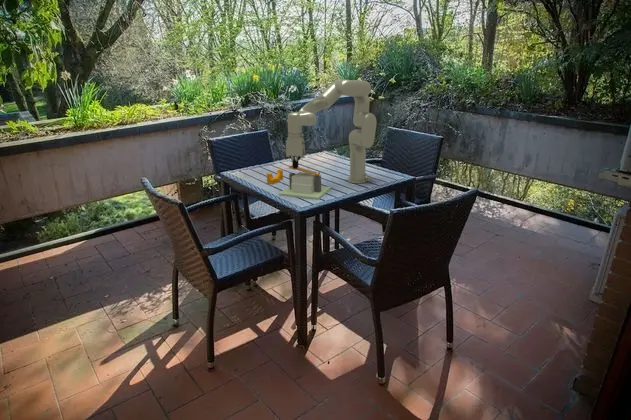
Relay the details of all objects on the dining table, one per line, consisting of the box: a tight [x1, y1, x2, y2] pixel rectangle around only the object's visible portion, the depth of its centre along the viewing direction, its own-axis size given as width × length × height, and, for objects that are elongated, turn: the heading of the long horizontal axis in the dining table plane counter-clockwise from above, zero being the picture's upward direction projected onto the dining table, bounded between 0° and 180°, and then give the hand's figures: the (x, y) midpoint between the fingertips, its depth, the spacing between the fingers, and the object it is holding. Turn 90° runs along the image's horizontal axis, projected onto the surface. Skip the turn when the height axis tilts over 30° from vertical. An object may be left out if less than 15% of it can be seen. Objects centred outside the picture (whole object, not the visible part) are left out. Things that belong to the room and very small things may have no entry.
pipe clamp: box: [266, 168, 284, 185], centre depth 262 cm, size 12×4×6 cm, turn 143°
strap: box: [288, 165, 321, 176], centre depth 238 cm, size 18×5×1 cm, turn 68°
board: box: [278, 171, 332, 200], centre depth 241 cm, size 24×20×10 cm
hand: (295, 167), depth 239 cm, fingers closed
